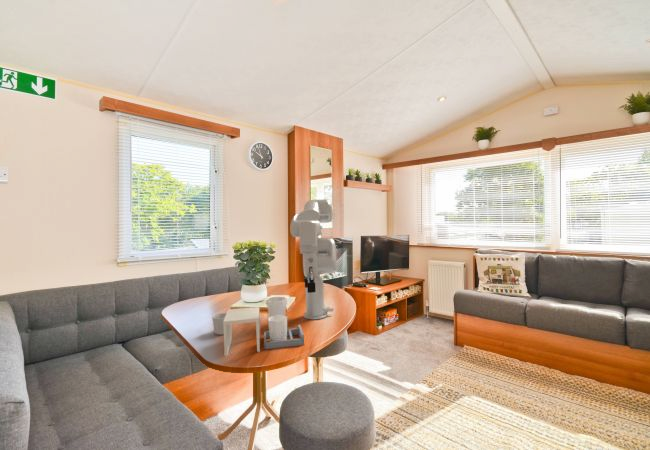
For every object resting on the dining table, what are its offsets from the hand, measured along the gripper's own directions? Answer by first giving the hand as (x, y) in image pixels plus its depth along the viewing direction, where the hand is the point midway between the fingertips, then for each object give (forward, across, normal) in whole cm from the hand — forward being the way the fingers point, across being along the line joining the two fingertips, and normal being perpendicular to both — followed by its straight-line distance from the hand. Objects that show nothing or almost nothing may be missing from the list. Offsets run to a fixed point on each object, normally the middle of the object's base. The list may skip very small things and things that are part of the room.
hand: (310, 289), depth 129 cm
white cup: (+21, 0, +14) cm, 25 cm away
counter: (+21, -1, +28) cm, 34 cm away
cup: (+21, +18, +39) cm, 48 cm away
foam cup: (+21, +18, +14) cm, 31 cm away
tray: (+20, 0, +12) cm, 24 cm away
